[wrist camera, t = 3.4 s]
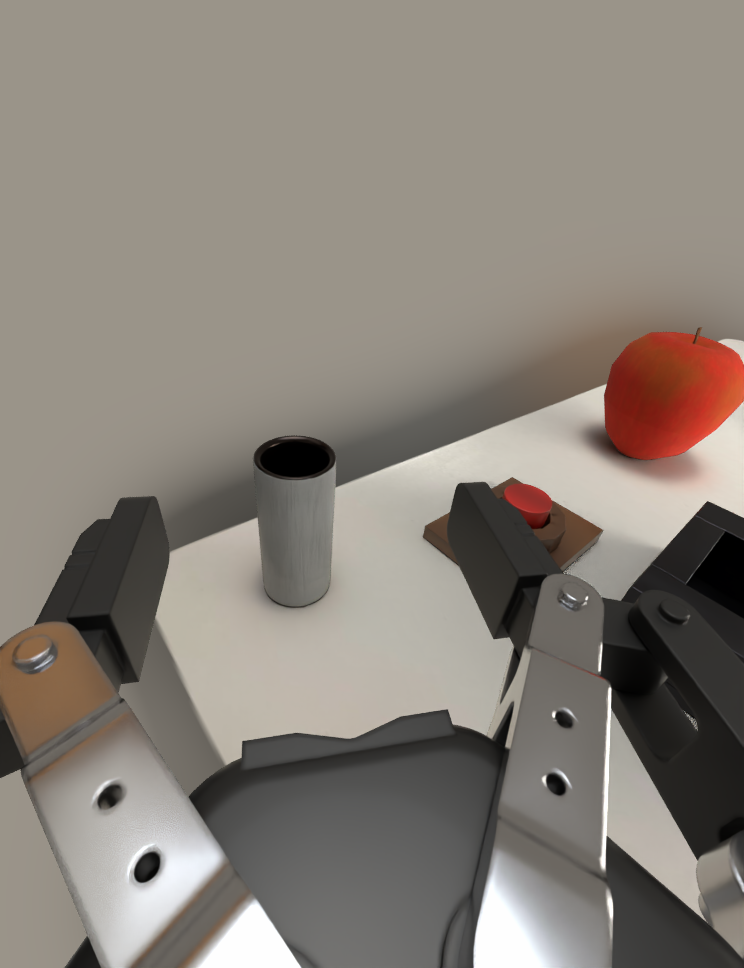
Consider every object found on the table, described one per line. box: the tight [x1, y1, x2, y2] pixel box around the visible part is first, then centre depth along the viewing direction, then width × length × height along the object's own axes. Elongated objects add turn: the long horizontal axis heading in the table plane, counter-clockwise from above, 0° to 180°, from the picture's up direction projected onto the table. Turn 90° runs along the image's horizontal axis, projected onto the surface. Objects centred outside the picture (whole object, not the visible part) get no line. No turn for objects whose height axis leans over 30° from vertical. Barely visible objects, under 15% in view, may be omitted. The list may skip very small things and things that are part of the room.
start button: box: [502, 484, 552, 529], centre depth 33 cm, size 4×4×2 cm
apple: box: [604, 327, 744, 460], centre depth 45 cm, size 12×12×14 cm
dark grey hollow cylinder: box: [253, 436, 336, 606], centre depth 27 cm, size 4×4×10 cm
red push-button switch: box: [423, 477, 603, 572], centre depth 35 cm, size 12×9×3 cm
